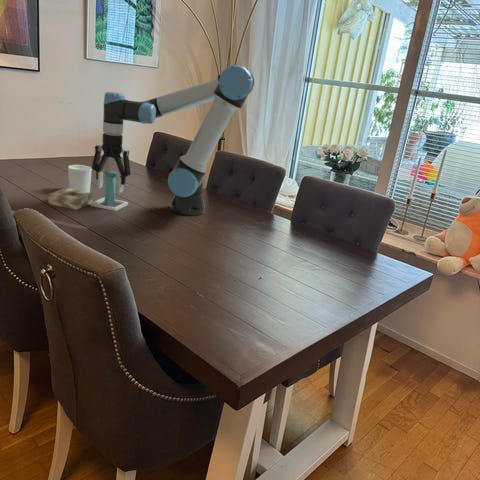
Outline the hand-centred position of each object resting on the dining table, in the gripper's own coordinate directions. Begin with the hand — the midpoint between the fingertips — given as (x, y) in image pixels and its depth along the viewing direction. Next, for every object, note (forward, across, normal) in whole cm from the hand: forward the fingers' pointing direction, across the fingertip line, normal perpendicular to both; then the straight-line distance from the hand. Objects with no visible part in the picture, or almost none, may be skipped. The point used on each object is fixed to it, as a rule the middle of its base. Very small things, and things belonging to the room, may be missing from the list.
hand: (110, 189), depth 182 cm
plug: (+7, 0, 0) cm, 7 cm away
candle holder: (+8, +19, -8) cm, 22 cm away
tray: (+8, 0, 0) cm, 8 cm away
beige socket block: (+8, +13, +8) cm, 17 cm away
